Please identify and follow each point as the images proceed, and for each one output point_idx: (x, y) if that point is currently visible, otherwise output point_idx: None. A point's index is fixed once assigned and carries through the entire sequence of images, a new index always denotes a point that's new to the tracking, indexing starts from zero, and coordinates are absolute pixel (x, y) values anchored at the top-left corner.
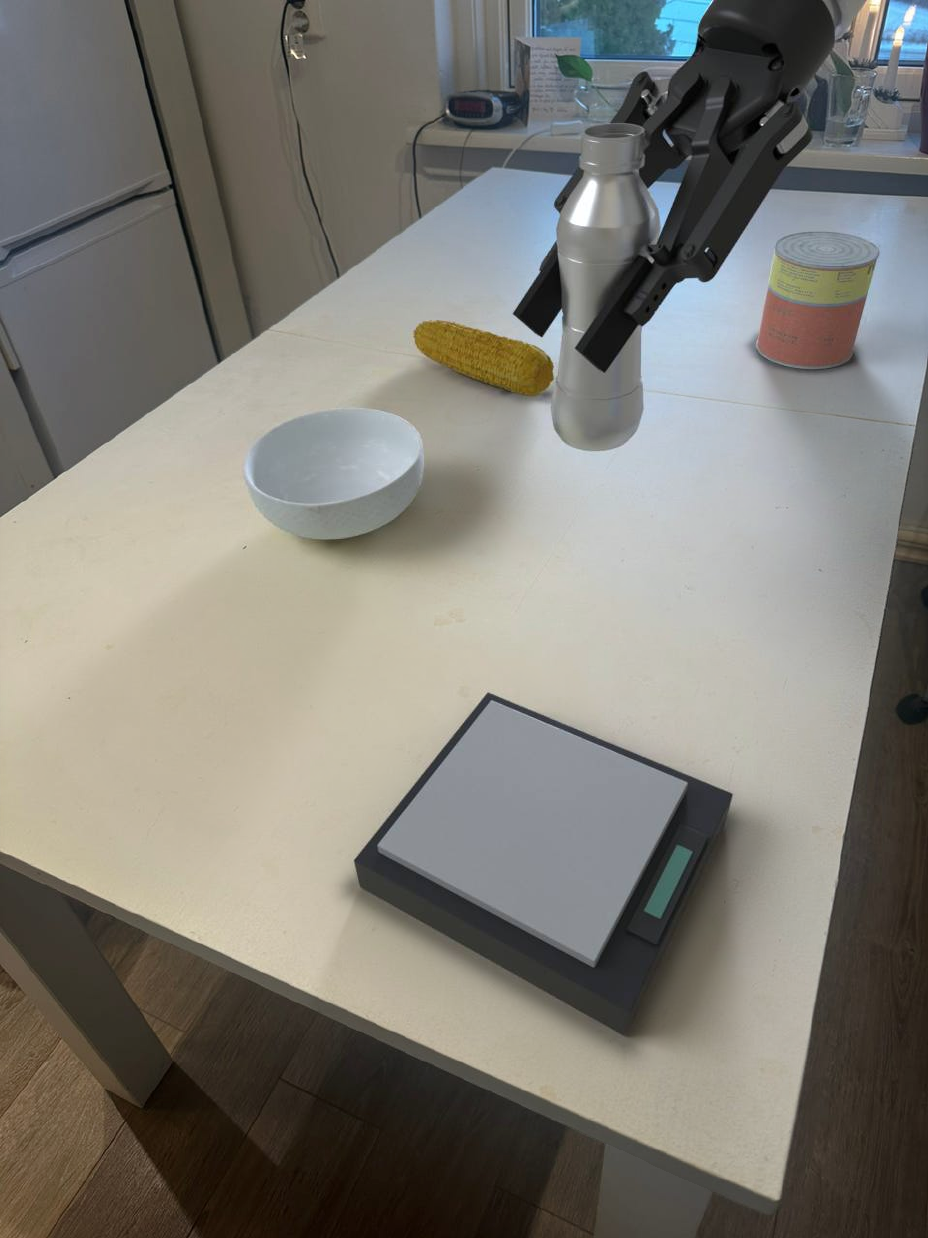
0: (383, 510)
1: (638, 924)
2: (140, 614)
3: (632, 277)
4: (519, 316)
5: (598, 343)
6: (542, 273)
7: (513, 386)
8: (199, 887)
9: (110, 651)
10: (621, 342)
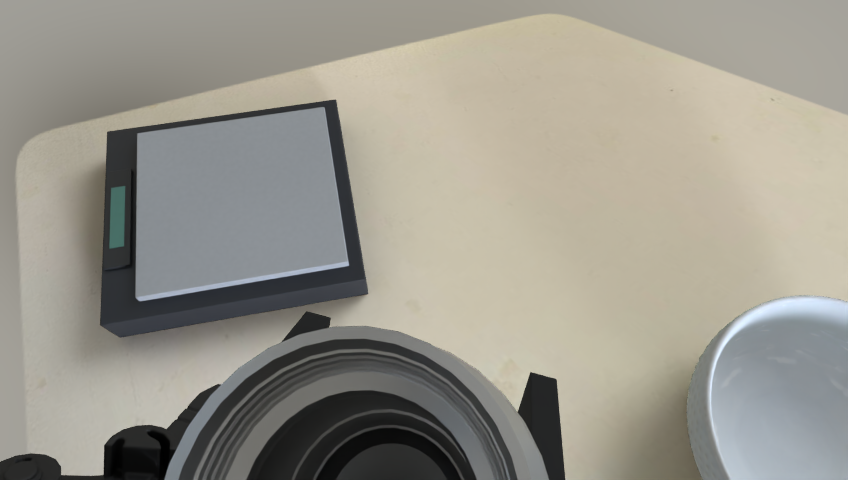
0: (690, 411)
1: (124, 176)
2: (744, 177)
3: None
4: (531, 374)
5: None
6: (549, 446)
7: None
8: (428, 62)
9: (708, 136)
10: None
